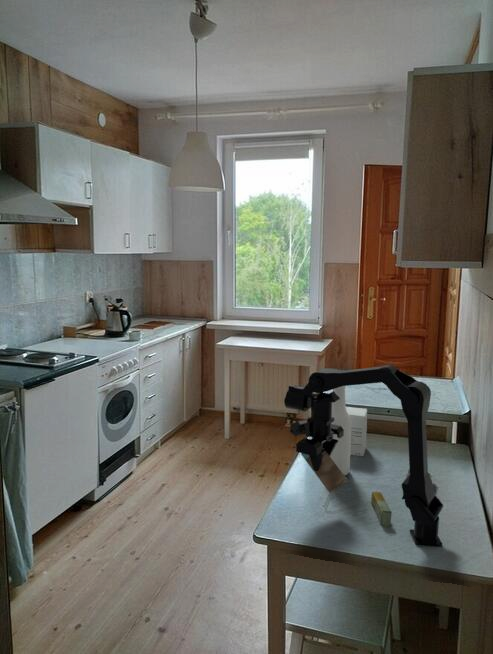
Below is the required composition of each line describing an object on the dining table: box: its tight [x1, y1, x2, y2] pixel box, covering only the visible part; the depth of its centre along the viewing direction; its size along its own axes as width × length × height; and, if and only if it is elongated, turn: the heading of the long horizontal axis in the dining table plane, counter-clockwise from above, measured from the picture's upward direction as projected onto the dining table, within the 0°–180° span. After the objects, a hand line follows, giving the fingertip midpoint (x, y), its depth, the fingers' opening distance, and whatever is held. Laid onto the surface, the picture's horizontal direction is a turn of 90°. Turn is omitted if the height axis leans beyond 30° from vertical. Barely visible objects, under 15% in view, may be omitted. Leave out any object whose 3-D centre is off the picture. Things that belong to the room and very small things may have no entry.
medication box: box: [370, 491, 392, 527], centre depth 140 cm, size 12×3×4 cm, turn 0°
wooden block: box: [300, 447, 348, 494], centre depth 142 cm, size 4×4×13 cm
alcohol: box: [330, 386, 352, 477], centre depth 165 cm, size 9×9×30 cm
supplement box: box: [346, 406, 368, 457], centre depth 183 cm, size 9×9×15 cm
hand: (319, 467), depth 143 cm, fingers closed on wooden block, 4 cm apart
